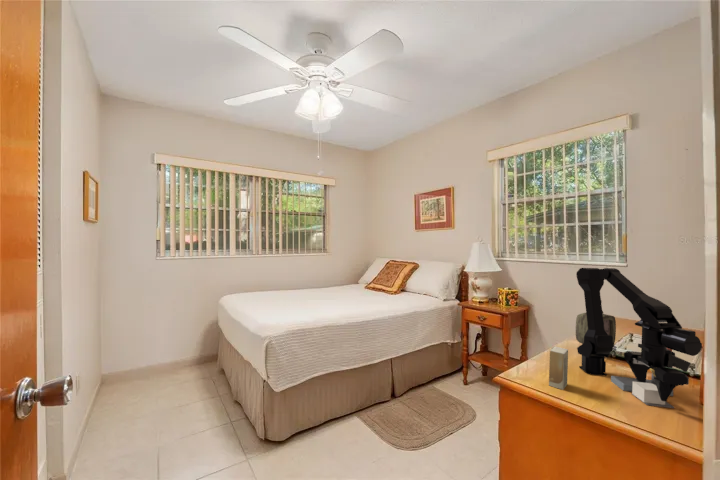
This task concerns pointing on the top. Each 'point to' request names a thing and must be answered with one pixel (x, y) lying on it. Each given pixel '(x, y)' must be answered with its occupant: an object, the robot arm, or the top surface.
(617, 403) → the top surface
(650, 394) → the cover
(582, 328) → the tabletop clock
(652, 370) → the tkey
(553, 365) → the skincare box
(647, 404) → the mat
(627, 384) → the latch base
